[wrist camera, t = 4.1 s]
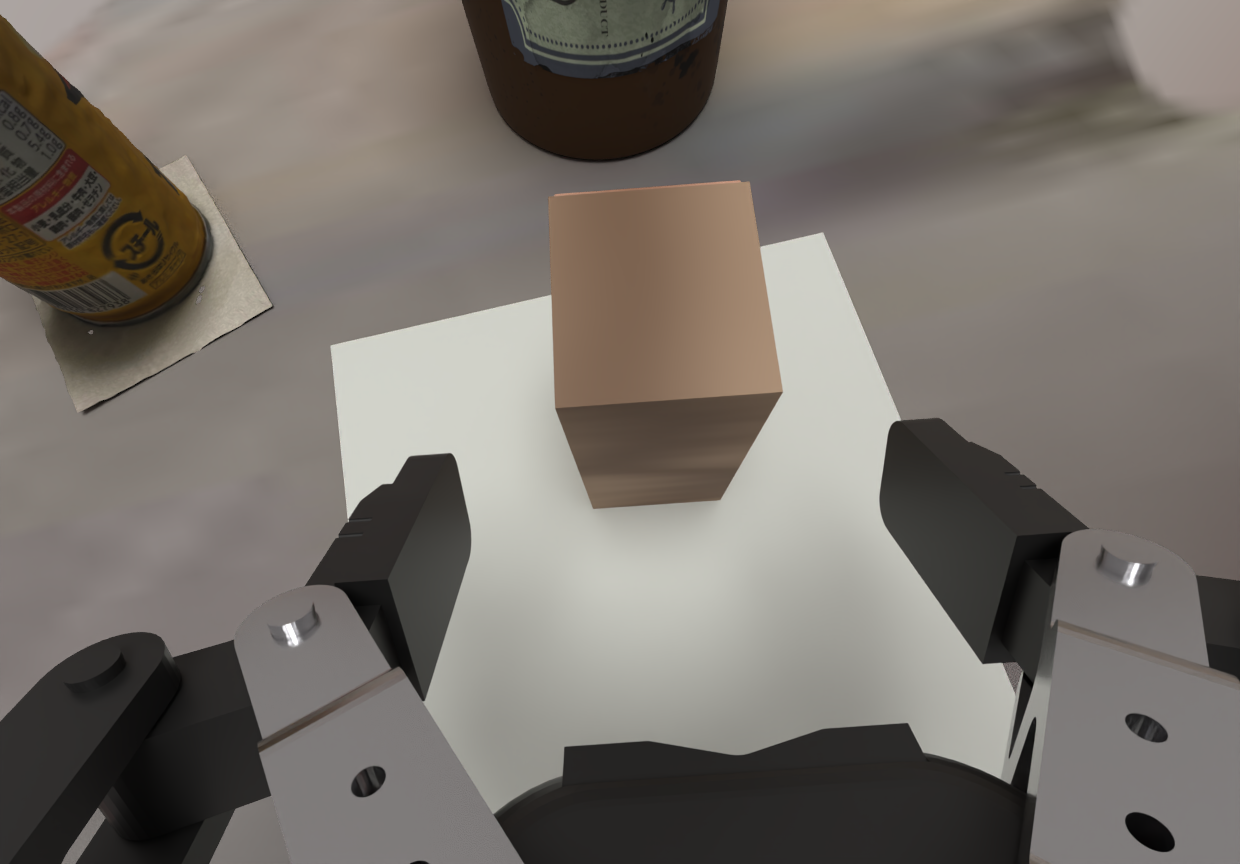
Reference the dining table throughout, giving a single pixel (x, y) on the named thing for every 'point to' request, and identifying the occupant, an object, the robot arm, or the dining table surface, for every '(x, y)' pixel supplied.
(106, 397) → the condiment
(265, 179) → the dining table surface
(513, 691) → the rubber mat
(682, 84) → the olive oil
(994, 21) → the dining table surface
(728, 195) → the walnut block
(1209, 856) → the robot arm
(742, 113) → the dining table surface
